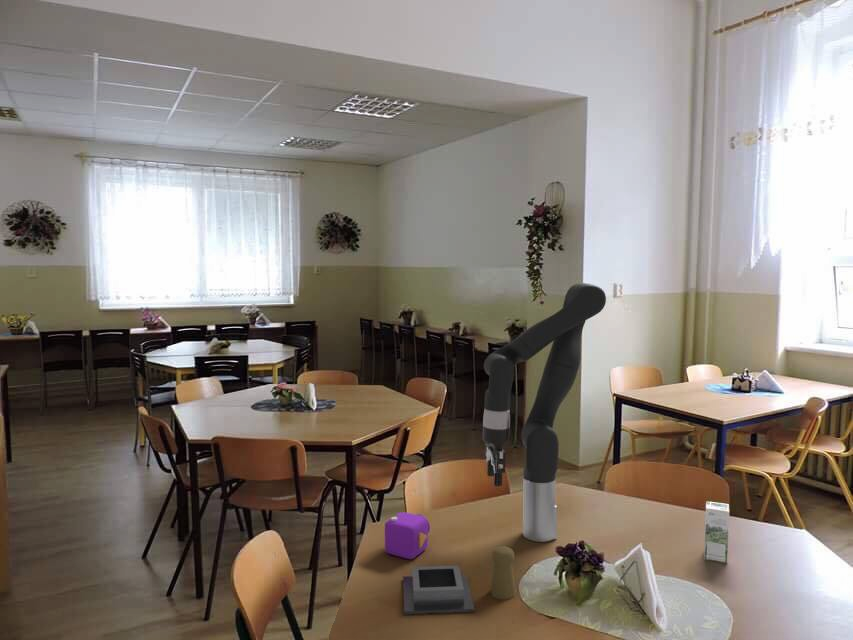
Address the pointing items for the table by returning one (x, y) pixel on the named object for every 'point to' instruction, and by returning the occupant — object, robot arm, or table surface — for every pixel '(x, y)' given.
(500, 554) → the cork
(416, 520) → the toy camera
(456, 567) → the collar mount
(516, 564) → the table surface
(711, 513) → the syrup box
